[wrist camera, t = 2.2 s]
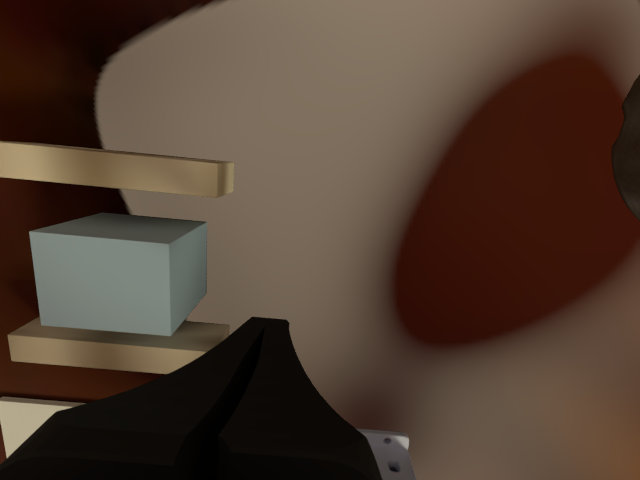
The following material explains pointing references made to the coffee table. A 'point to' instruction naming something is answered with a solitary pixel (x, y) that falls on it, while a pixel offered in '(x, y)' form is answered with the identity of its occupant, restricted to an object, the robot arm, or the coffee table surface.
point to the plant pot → (629, 152)
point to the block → (120, 272)
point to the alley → (125, 174)
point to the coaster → (25, 418)
